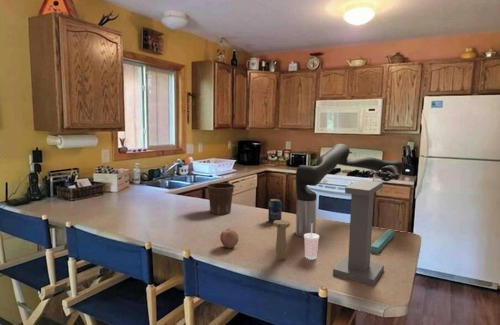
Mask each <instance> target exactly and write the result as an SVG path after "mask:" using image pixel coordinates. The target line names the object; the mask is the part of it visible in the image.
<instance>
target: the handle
mask: <svg viewBox="0 0 500 325" xmlns="http://www.w3.org/2000/svg"><path fill="white" fill-rule="evenodd" d="M272 224H273V226H274V227H276V230H277V231H276V242H275V252H276V260H278V261H285V259H286V253H287V228H289V227H290V226H291V222H290V221H289V220H285V219H284V220H282V219H281V220H275V221H274V222H273V223H272Z"/></svg>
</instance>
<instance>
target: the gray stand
mask: <svg viewBox="0 0 500 325" xmlns="http://www.w3.org/2000/svg"><path fill="white" fill-rule="evenodd" d="M383 185H384V181H377V180H367V179H360V180H358V181H355V182H354V183H352V184H349V185H347V186H345V187H344V194H349V195H351V196H350V197H351V198H350V220H349V237H348V238H349V239H348V255H346V256H344V257H343V259H341V261H340V262H339V263H338V264H336V265H335V267H333V268H332V274H333V275H334V276H338V277H341V278H345V279H348V280H353V281H356V282H357V283H358V282H360V283H362V284H364V285H365V284H366V285H369V286H374V285H375V284H376V282H377V280H378V279H379V278H380V277H381V275H382V273H383V272H384V270H385V268H384V267H385V265H384V264H381V263H377V262H372V261H371V253H372V252H371V245H372V234H373V219H374V218H373V216H374V215H373V214H374V199H375V198H374V197H375V196H374V195H375V193H377V192H378V191H380V190H381V189H383V187H384V186H383Z"/></svg>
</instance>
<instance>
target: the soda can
mask: <svg viewBox="0 0 500 325" xmlns="http://www.w3.org/2000/svg"><path fill="white" fill-rule="evenodd" d="M282 204H283V203H282V201H281V199H280V198H270V199H269V201H268V214H267V215H268V221H269V222H270V223H271V224H273V222H274V221H275V220H282V209H283V208H282Z"/></svg>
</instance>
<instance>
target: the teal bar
mask: <svg viewBox="0 0 500 325" xmlns="http://www.w3.org/2000/svg"><path fill="white" fill-rule="evenodd" d="M394 232H395V230H392V229H386V230H385V231H384V232H383V233H382V234H381V235H380V236H379V237H378V238H377V239H375V241H374V242H373V243H371V253H373V254H377V255H378V254H379V252H381V251H382V249H383V248H384V247H385V246H386V245H387V244H388V243H389V242H390V240H392V239H393V237H394Z"/></svg>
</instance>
